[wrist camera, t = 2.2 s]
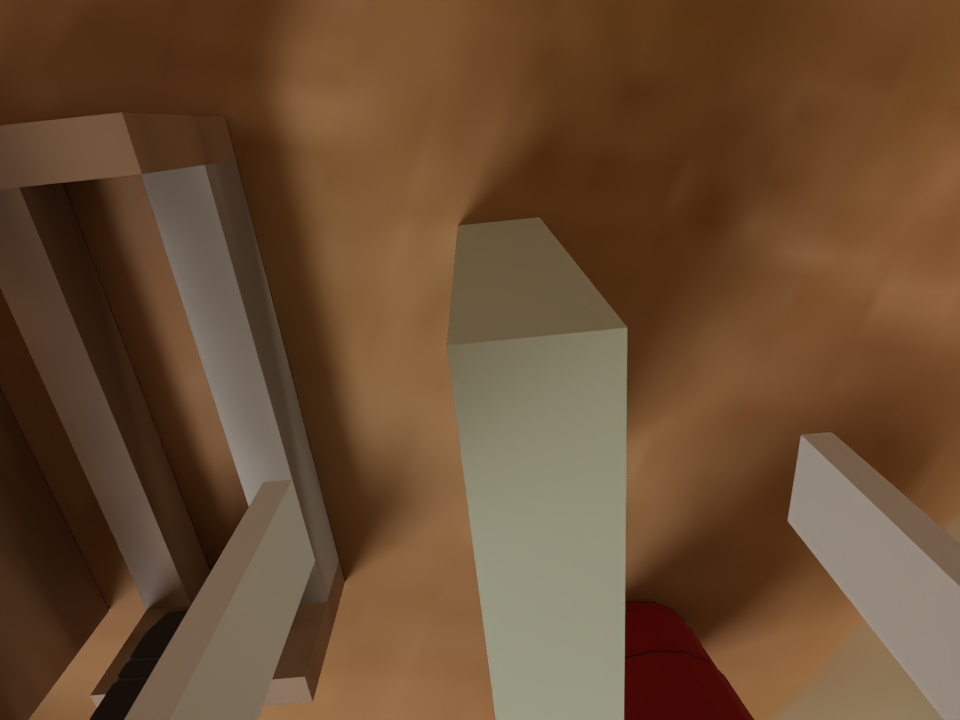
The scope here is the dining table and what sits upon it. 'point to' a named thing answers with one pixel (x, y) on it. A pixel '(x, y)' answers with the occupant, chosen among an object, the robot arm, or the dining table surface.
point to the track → (139, 395)
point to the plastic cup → (672, 671)
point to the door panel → (542, 469)
